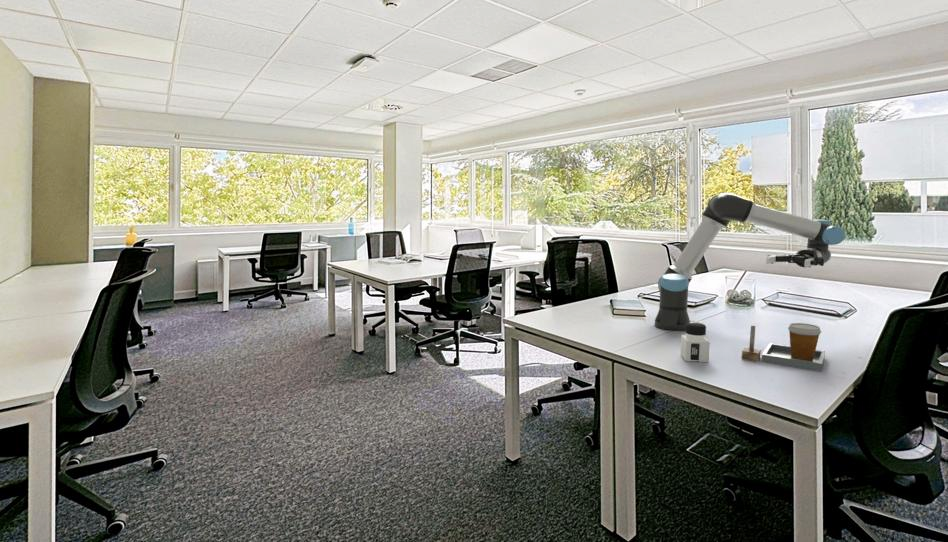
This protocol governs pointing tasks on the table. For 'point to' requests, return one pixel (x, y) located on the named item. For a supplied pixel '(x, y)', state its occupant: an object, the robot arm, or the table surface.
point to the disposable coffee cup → (803, 340)
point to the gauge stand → (751, 348)
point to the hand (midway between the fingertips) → (785, 261)
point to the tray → (783, 357)
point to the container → (695, 343)
